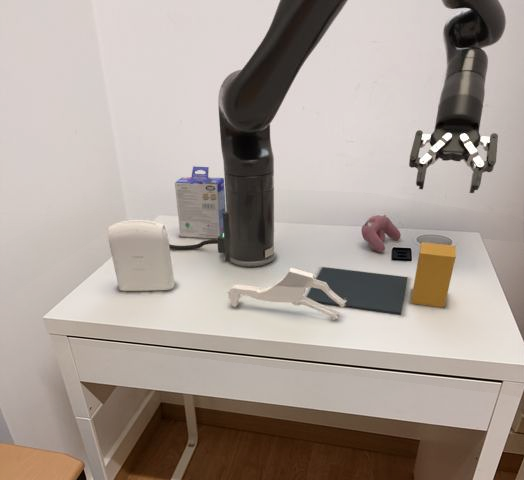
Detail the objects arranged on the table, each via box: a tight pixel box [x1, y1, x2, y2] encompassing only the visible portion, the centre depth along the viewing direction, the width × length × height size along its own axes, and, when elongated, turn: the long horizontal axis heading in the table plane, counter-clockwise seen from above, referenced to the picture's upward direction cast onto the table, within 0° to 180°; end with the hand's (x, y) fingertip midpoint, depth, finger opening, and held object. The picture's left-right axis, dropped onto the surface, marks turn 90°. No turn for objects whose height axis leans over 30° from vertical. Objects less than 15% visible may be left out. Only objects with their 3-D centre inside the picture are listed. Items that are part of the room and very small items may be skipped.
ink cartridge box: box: [174, 166, 226, 240], centre depth 106 cm, size 10×6×14 cm, turn 78°
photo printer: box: [107, 219, 176, 292], centre depth 84 cm, size 10×4×12 cm, turn 89°
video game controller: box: [360, 214, 402, 253], centre depth 102 cm, size 10×5×7 cm, turn 144°
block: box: [410, 241, 457, 308], centre depth 80 cm, size 5×5×9 cm
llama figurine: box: [227, 267, 347, 321], centre depth 78 cm, size 2×11×18 cm
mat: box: [306, 266, 408, 316], centre depth 86 cm, size 16×14×1 cm
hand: (446, 188), depth 84 cm, fingers open, 8 cm apart
